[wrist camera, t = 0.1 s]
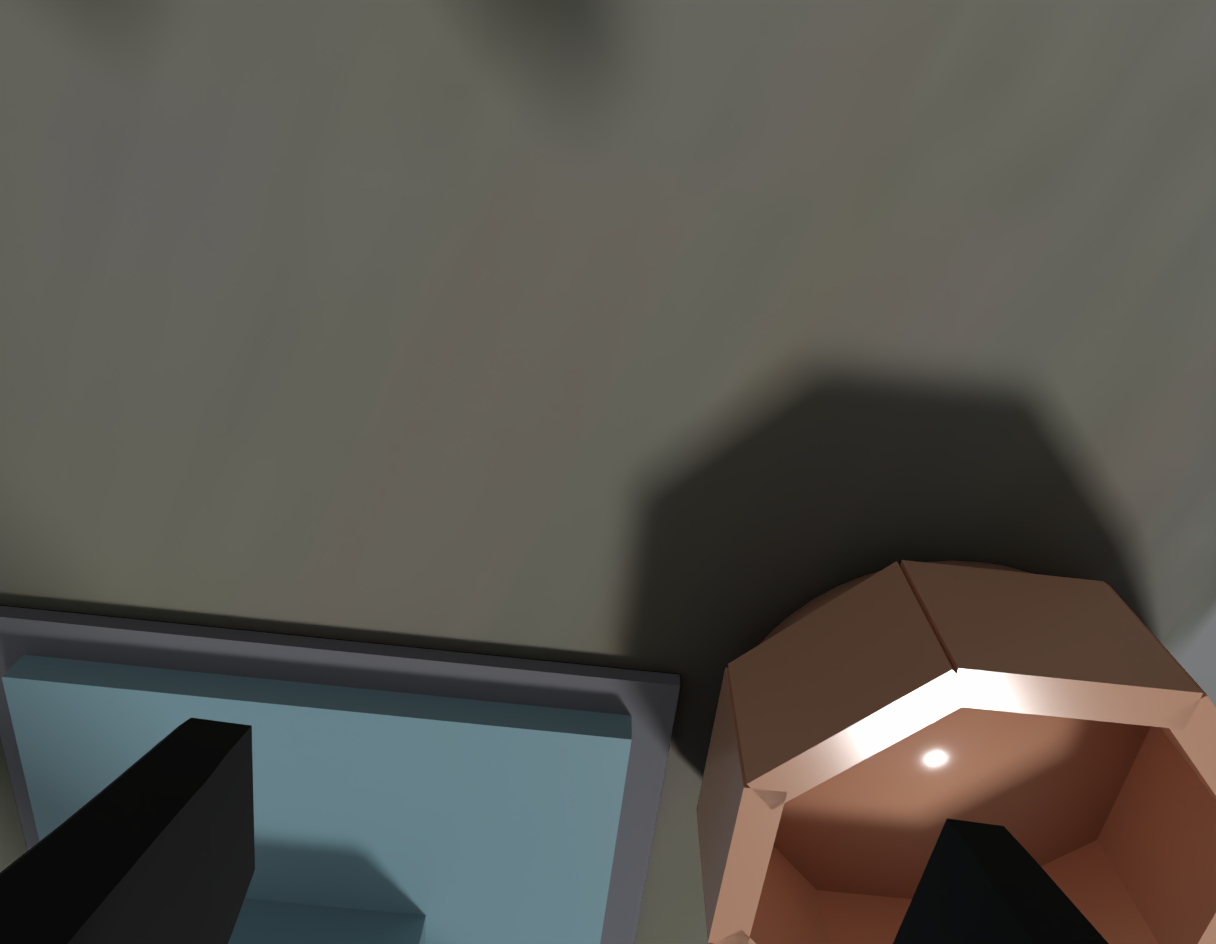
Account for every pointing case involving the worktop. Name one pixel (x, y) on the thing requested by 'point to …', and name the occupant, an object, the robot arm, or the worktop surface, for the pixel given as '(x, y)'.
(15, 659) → the mat
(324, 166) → the worktop surface
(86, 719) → the cover sheet
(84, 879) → the robot arm
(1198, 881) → the bowl
